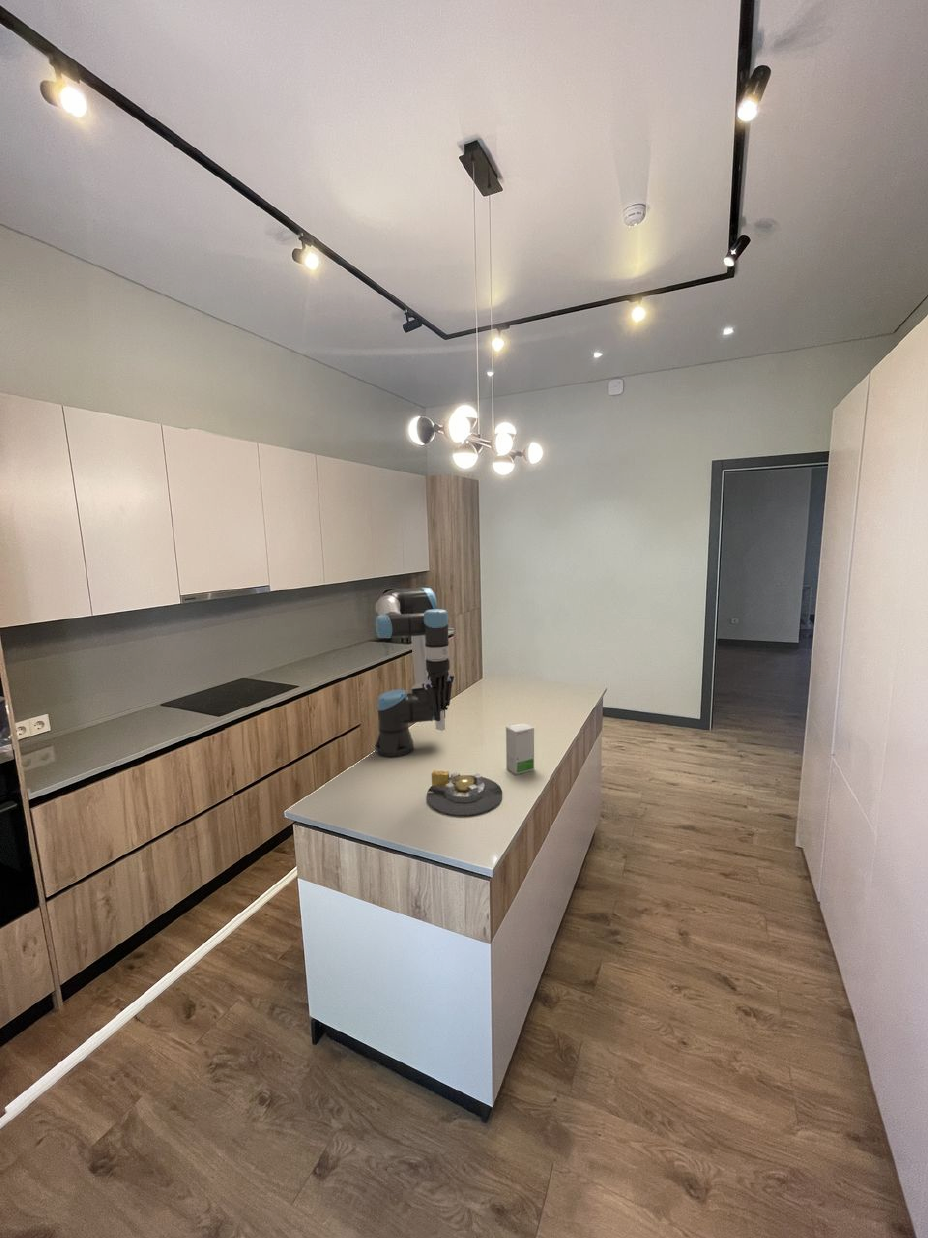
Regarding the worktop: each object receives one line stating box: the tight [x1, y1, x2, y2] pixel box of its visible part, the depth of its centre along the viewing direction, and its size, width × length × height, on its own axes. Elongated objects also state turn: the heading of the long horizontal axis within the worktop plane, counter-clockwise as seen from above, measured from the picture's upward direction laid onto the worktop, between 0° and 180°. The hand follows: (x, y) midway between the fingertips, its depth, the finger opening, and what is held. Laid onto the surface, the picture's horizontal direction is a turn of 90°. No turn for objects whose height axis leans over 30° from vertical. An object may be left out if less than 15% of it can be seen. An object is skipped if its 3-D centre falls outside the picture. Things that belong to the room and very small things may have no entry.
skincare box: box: [505, 722, 535, 775], centre depth 170 cm, size 8×7×16 cm
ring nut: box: [431, 770, 485, 803], centre depth 153 cm, size 17×13×6 cm
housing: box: [426, 774, 503, 818], centre depth 153 cm, size 24×24×6 cm
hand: (440, 729), depth 156 cm, fingers closed
